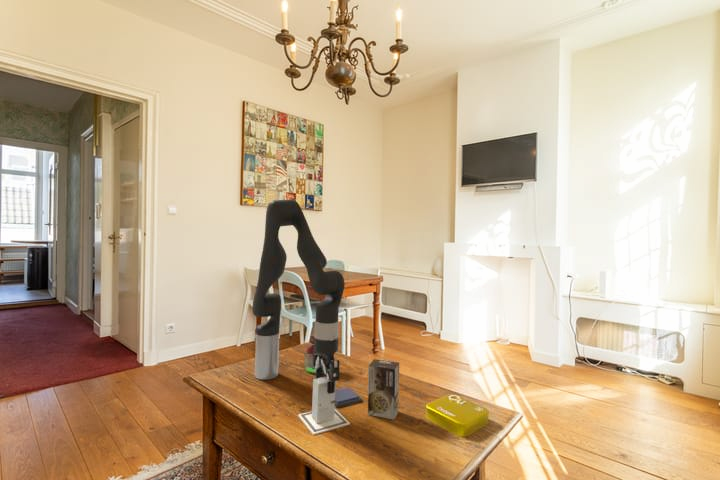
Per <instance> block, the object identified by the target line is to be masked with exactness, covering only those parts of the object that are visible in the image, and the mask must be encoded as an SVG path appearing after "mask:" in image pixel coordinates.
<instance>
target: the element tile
mask: <svg viewBox="0 0 720 480" xmlns="http://www.w3.org/2000/svg"><path fill="white" fill-rule="evenodd" d="M489 412H490V411H489V409H487V408H486V407H484V406H481V405H479V404H477V403H475V402H473V401H470V400H468V399H465V398H464V397H462V396H459V395H456V394H455V393H449V394H446V395H444V396H442V397H439V398H437V399H434V400H432V401H430V402H428V403H426V405H425V418H426V419H427V420H428V421H430V422H431V423H434V425H437V426H439V427H440V428H442V429H444V430H446V431H448V432H450V433H451V432H452V433H451V434H453V435H455V436H457V437H459V438H460V437H461V438H465V437H469V436H470V435H472V434H473V432H474V433H475V432H477V431H479V430H480V428H481V429H482V428H483V426H484V427H485V425H486V424H487V425H488V424H489ZM487 425H486V426H487ZM478 429H479V430H478ZM468 435H469V436H468Z"/></svg>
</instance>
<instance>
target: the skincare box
mask: <svg viewBox="0 0 720 480" xmlns="http://www.w3.org/2000/svg"><path fill="white" fill-rule="evenodd" d="M327 381H328V379H327V376H323V377H320V378H316V377H315V378H313V379H312V398H311V399H312V400H311V402H312V403H311V404H312V406H311V411H312V418H313V420H314V421H315V422H316V423H317V424H318V423H322V422H326V421H330V420H333V419H334V412H335V409H336V407H335V392H334V393H331V394H328V393H327ZM336 382H337V381H335V385H336Z"/></svg>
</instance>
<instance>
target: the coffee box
mask: <svg viewBox="0 0 720 480" xmlns="http://www.w3.org/2000/svg"><path fill="white" fill-rule="evenodd" d="M367 368H368V369H367V370H368V376H367V377H368V378H367V379H368V383H367V385H368V387H367V388H368V389H367V415H368V416H371V417H372V416H373V417H377V418H378V417H379V418H384V419H389V420H395V419H396V418H397V416H398V414H399V401H400V400H399V399H400V398H399V397H400V396H399V395H400V394H399V393H400V362H398V361H390V360H381V359H377V358H376V359H372V361H371V362H370V363H369V364H368V367H367Z"/></svg>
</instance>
